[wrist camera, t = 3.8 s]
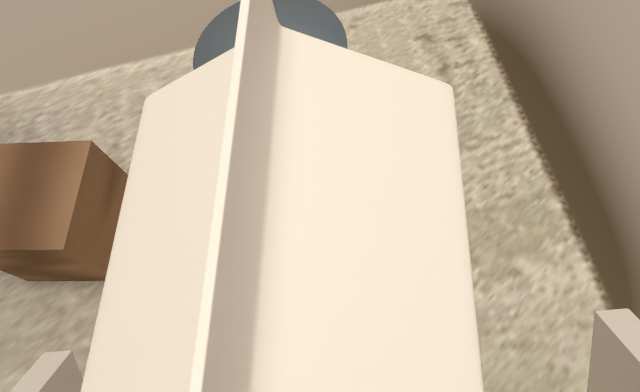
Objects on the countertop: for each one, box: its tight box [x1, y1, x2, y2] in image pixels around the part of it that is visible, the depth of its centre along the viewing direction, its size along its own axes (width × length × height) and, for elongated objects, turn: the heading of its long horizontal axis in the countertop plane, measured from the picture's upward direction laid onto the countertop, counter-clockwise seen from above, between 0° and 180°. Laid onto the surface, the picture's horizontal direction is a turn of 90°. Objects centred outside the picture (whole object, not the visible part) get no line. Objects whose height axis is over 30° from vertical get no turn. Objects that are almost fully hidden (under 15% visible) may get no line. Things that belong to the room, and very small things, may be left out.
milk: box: [81, 0, 484, 392], centre depth 15 cm, size 6×6×22 cm
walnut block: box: [0, 141, 128, 281], centre depth 27 cm, size 6×6×6 cm
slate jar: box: [193, 0, 347, 70], centre depth 26 cm, size 7×7×10 cm
